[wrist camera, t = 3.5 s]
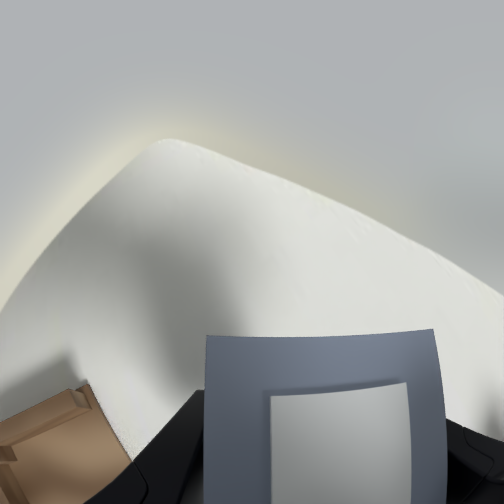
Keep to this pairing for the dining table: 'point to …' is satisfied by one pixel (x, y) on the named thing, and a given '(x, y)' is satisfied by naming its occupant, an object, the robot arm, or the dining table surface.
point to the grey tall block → (324, 420)
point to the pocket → (59, 451)
